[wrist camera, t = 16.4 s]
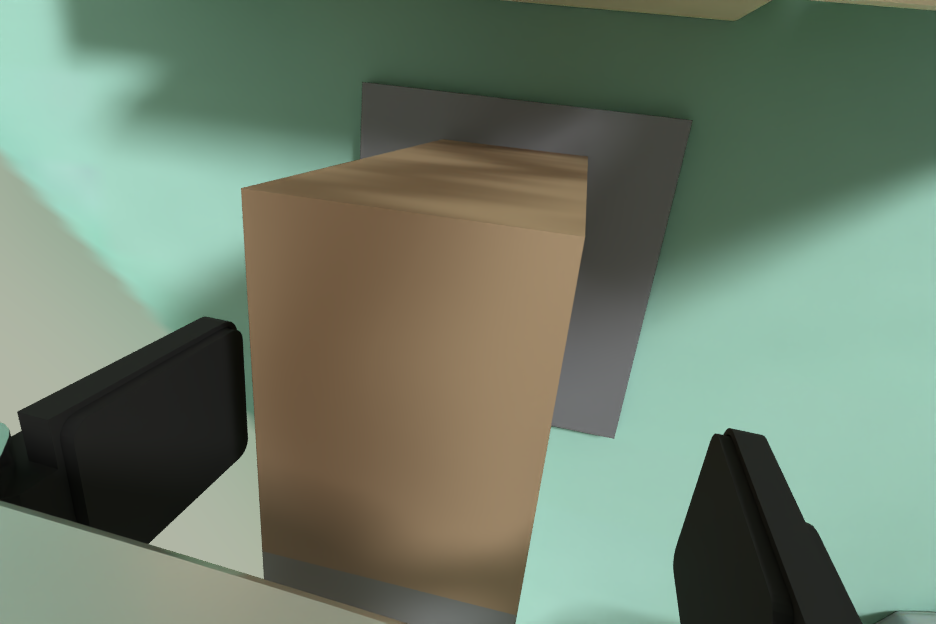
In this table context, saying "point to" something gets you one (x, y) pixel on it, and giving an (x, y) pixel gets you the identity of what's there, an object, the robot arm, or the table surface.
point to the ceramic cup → (909, 618)
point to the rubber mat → (607, 216)
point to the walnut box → (410, 371)
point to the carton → (711, 6)
